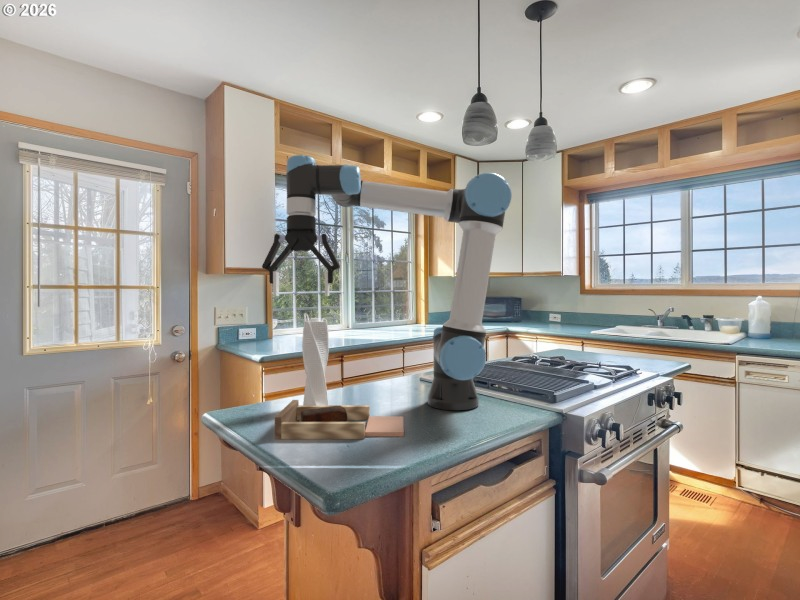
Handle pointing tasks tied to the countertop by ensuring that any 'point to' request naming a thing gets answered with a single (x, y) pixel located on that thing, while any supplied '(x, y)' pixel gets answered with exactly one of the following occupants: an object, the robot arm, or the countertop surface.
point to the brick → (325, 414)
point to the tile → (385, 426)
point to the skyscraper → (315, 360)
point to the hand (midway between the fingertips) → (301, 296)
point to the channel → (320, 423)
